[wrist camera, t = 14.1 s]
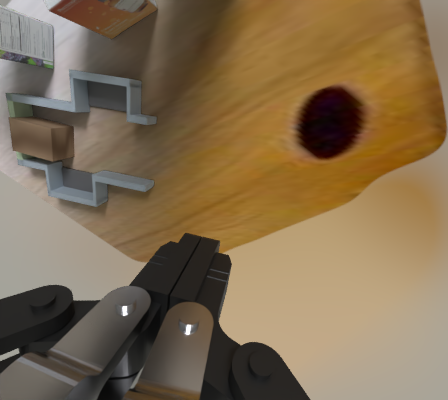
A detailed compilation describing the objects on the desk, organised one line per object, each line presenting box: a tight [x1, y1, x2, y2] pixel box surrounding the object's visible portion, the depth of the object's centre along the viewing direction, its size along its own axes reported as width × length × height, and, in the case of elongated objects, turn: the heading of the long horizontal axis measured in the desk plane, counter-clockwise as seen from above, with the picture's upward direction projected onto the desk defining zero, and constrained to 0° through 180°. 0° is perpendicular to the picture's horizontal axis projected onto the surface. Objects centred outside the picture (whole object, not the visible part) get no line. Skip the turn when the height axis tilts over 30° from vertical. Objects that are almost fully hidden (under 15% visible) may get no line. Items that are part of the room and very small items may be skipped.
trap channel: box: [6, 69, 157, 207], centre depth 38 cm, size 20×22×3 cm
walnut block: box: [9, 117, 74, 162], centre depth 39 cm, size 5×7×4 cm
